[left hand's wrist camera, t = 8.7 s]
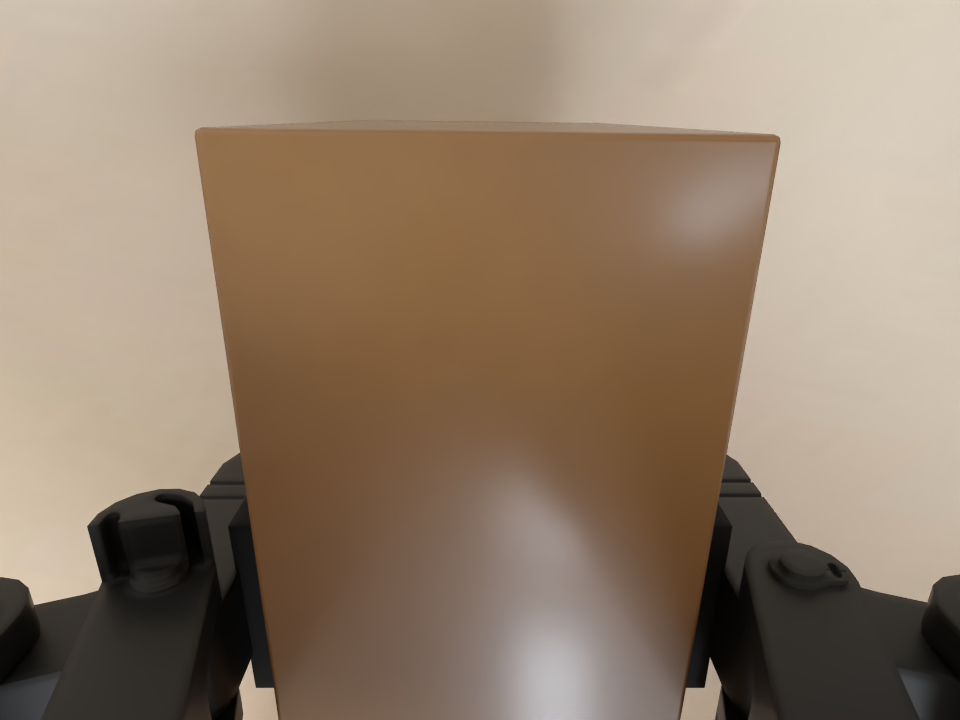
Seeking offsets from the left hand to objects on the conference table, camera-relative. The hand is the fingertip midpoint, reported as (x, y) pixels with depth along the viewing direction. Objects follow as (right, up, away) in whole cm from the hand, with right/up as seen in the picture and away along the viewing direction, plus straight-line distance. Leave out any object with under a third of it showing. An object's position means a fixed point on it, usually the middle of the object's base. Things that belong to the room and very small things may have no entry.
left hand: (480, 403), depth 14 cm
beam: (0, -32, +13) cm, 34 cm away
